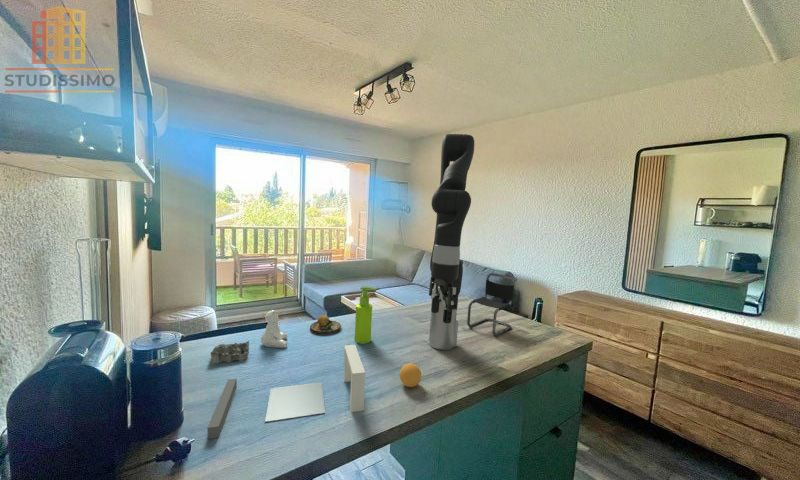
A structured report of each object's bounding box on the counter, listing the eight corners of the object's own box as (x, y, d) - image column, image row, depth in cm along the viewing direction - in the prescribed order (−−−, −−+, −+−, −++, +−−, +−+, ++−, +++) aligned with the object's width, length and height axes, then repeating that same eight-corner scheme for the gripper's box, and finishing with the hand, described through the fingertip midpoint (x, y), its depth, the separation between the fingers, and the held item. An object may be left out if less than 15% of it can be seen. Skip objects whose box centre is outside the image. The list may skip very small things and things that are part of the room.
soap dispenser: (370, 344, 109) (373, 290, 107) (352, 342, 110) (354, 288, 108) (375, 338, 115) (377, 286, 113) (357, 335, 116) (359, 284, 114)
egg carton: (208, 365, 91) (208, 352, 90) (214, 354, 97) (214, 342, 97) (247, 361, 94) (247, 349, 93) (250, 350, 101) (250, 339, 100)
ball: (416, 378, 89) (417, 358, 88) (424, 390, 83) (425, 369, 83) (396, 380, 87) (397, 360, 87) (403, 393, 81) (404, 371, 81)
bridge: (353, 377, 88) (355, 344, 87) (363, 410, 74) (365, 372, 73) (343, 378, 87) (344, 345, 86) (351, 412, 73) (352, 373, 72)
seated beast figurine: (287, 348, 103) (287, 314, 102) (259, 351, 100) (259, 316, 99) (287, 337, 112) (287, 305, 111) (261, 339, 109) (261, 306, 108)
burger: (345, 332, 119) (345, 314, 118) (315, 338, 113) (315, 318, 112) (334, 322, 129) (334, 305, 128) (306, 327, 123) (306, 309, 122)
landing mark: (321, 382, 84) (321, 382, 84) (325, 413, 72) (325, 412, 72) (270, 388, 80) (270, 388, 80) (264, 422, 68) (264, 421, 68)
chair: (514, 327, 133) (518, 278, 130) (493, 338, 121) (498, 283, 118) (487, 319, 142) (491, 272, 140) (466, 327, 130) (469, 276, 128)
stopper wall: (236, 387, 80) (236, 378, 80) (218, 437, 63) (218, 426, 63) (228, 388, 79) (228, 379, 79) (207, 439, 62) (207, 427, 62)
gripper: (470, 266, 80) (464, 326, 81) (447, 257, 94) (442, 309, 95) (443, 265, 78) (438, 327, 79) (424, 256, 92) (419, 309, 93)
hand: (440, 317), depth 87 cm, fingers open, 8 cm apart
